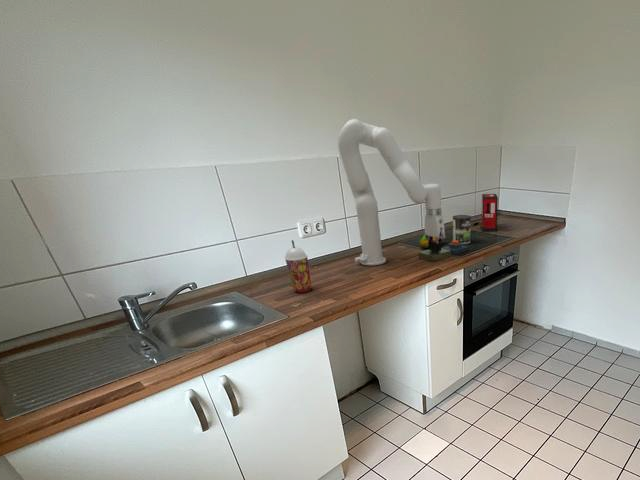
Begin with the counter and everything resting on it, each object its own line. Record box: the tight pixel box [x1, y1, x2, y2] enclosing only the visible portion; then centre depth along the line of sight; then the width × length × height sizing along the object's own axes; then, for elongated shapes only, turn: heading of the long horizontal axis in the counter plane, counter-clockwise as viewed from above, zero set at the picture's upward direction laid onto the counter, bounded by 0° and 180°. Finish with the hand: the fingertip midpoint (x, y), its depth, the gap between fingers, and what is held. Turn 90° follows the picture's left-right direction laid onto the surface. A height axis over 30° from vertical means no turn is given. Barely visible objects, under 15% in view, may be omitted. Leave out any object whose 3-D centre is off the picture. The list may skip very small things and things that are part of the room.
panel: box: [418, 247, 452, 263], centre depth 194 cm, size 13×10×3 cm
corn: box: [419, 234, 447, 249], centre depth 213 cm, size 7×8×20 cm
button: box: [451, 239, 459, 245], centre depth 202 cm, size 4×4×2 cm
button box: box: [442, 242, 469, 256], centre depth 203 cm, size 11×9×4 cm
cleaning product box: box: [481, 193, 499, 232], centre depth 246 cm, size 16×9×20 cm, turn 178°
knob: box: [430, 240, 436, 252], centre depth 192 cm, size 4×4×5 cm
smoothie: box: [284, 239, 312, 293], centre depth 152 cm, size 8×8×20 cm
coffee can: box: [452, 214, 472, 245], centre depth 218 cm, size 10×10×14 cm
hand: (434, 249), depth 193 cm, fingers open, 4 cm apart
